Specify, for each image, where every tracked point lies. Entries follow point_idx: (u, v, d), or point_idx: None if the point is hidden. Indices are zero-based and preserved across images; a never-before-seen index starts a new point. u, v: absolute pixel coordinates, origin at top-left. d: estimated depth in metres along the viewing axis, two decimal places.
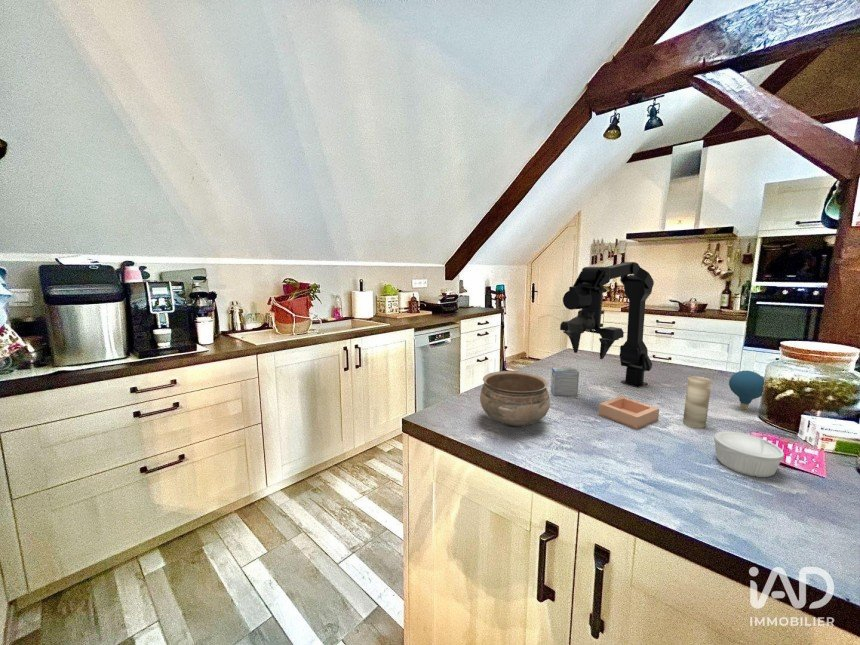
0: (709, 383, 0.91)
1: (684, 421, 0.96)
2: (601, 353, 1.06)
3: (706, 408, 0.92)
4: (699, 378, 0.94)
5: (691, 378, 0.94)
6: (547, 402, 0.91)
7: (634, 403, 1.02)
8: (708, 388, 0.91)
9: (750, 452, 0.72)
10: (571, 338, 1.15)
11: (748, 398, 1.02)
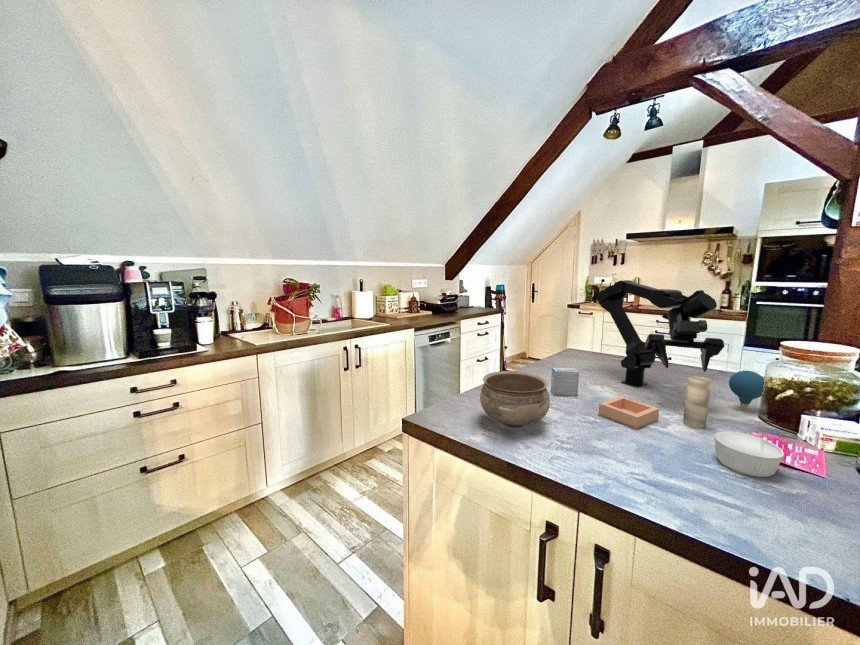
0: (709, 383, 0.91)
1: (684, 421, 0.96)
2: (707, 363, 0.99)
3: (706, 408, 0.92)
4: (699, 378, 0.94)
5: (691, 378, 0.94)
6: (547, 402, 0.91)
7: (634, 403, 1.02)
8: (708, 388, 0.91)
9: (750, 452, 0.72)
10: (663, 350, 1.04)
11: (748, 398, 1.02)
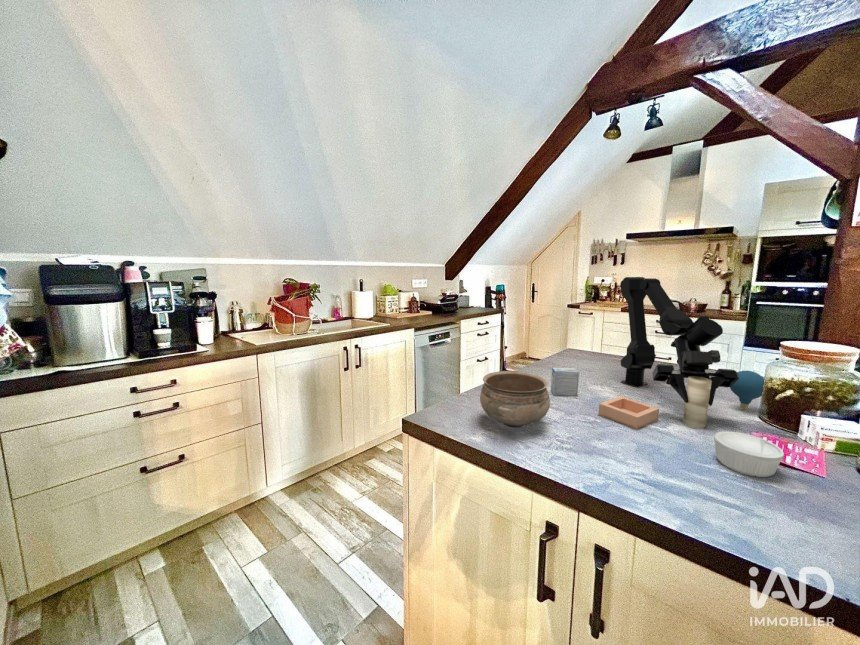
0: (709, 383, 0.91)
1: (684, 421, 0.96)
2: (712, 396, 0.93)
3: (706, 408, 0.92)
4: (699, 378, 0.94)
5: (691, 378, 0.94)
6: (547, 402, 0.91)
7: (634, 403, 1.02)
8: (708, 388, 0.91)
9: (749, 451, 0.72)
10: (681, 383, 0.96)
11: (748, 398, 1.02)
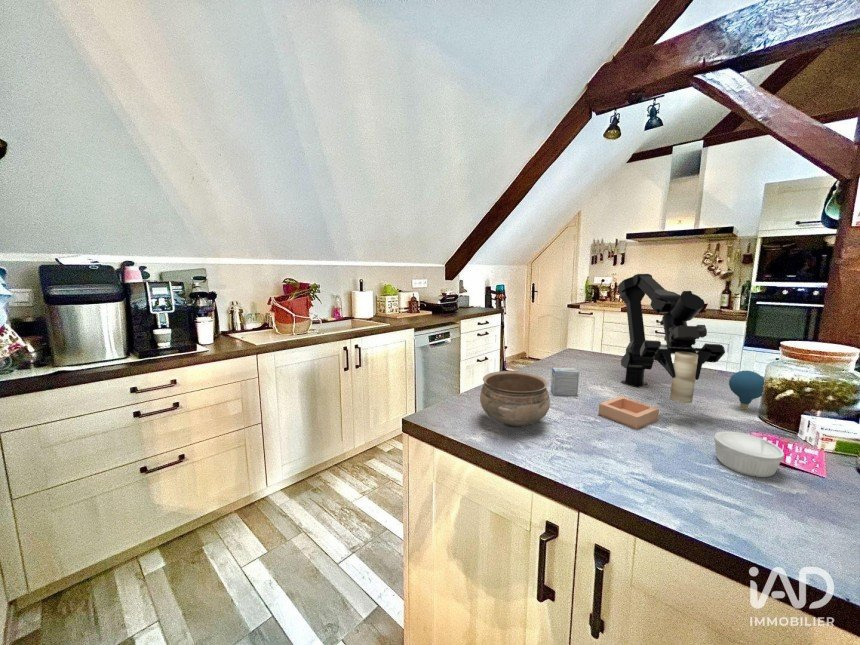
0: (696, 357, 0.91)
1: (671, 396, 0.96)
2: (699, 371, 0.93)
3: (693, 382, 0.93)
4: (686, 353, 0.94)
5: (678, 353, 0.94)
6: (547, 402, 0.91)
7: (634, 403, 1.02)
8: (695, 362, 0.91)
9: (749, 452, 0.72)
10: (668, 358, 0.96)
11: (748, 398, 1.02)
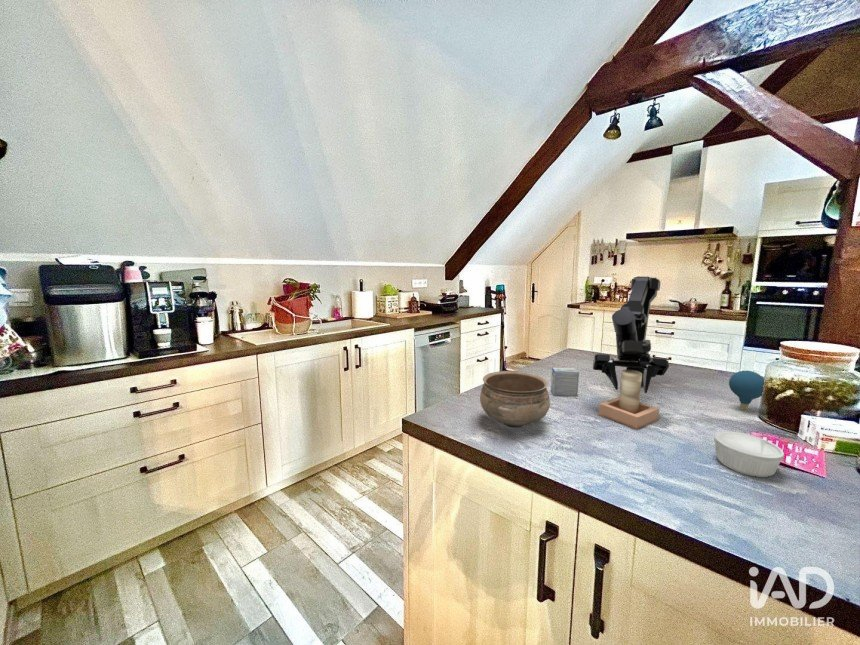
0: (639, 376, 0.96)
1: None
2: (647, 384, 0.97)
3: (637, 400, 0.97)
4: (631, 371, 0.98)
5: (624, 371, 0.99)
6: (547, 402, 0.91)
7: None
8: (638, 381, 0.96)
9: (749, 451, 0.72)
10: (613, 371, 1.01)
11: (748, 398, 1.02)
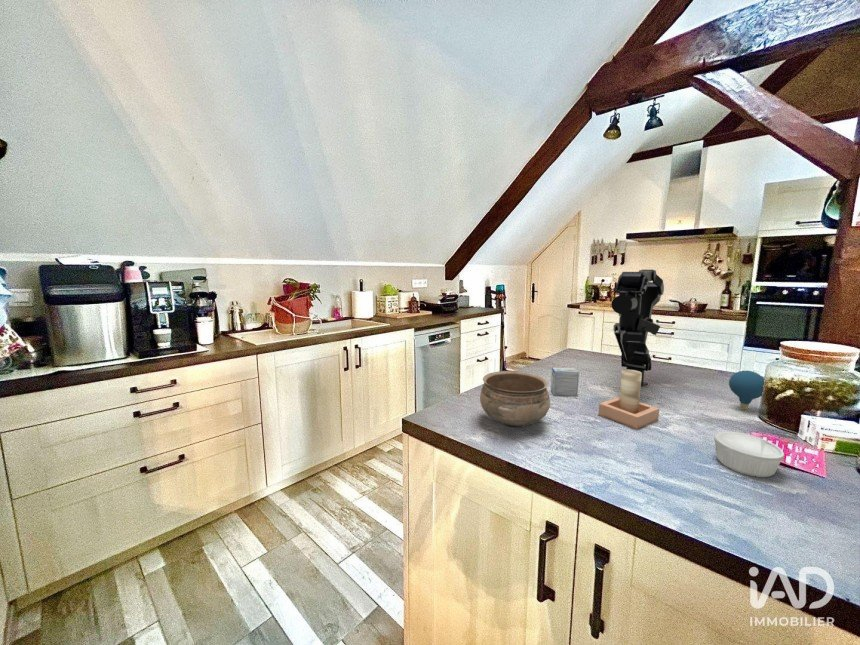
0: (639, 375, 0.96)
1: None
2: None
3: (637, 399, 0.97)
4: (631, 371, 0.99)
5: (624, 371, 0.99)
6: (547, 402, 0.91)
7: None
8: (638, 380, 0.96)
9: (749, 451, 0.72)
10: None
11: (748, 398, 1.02)
